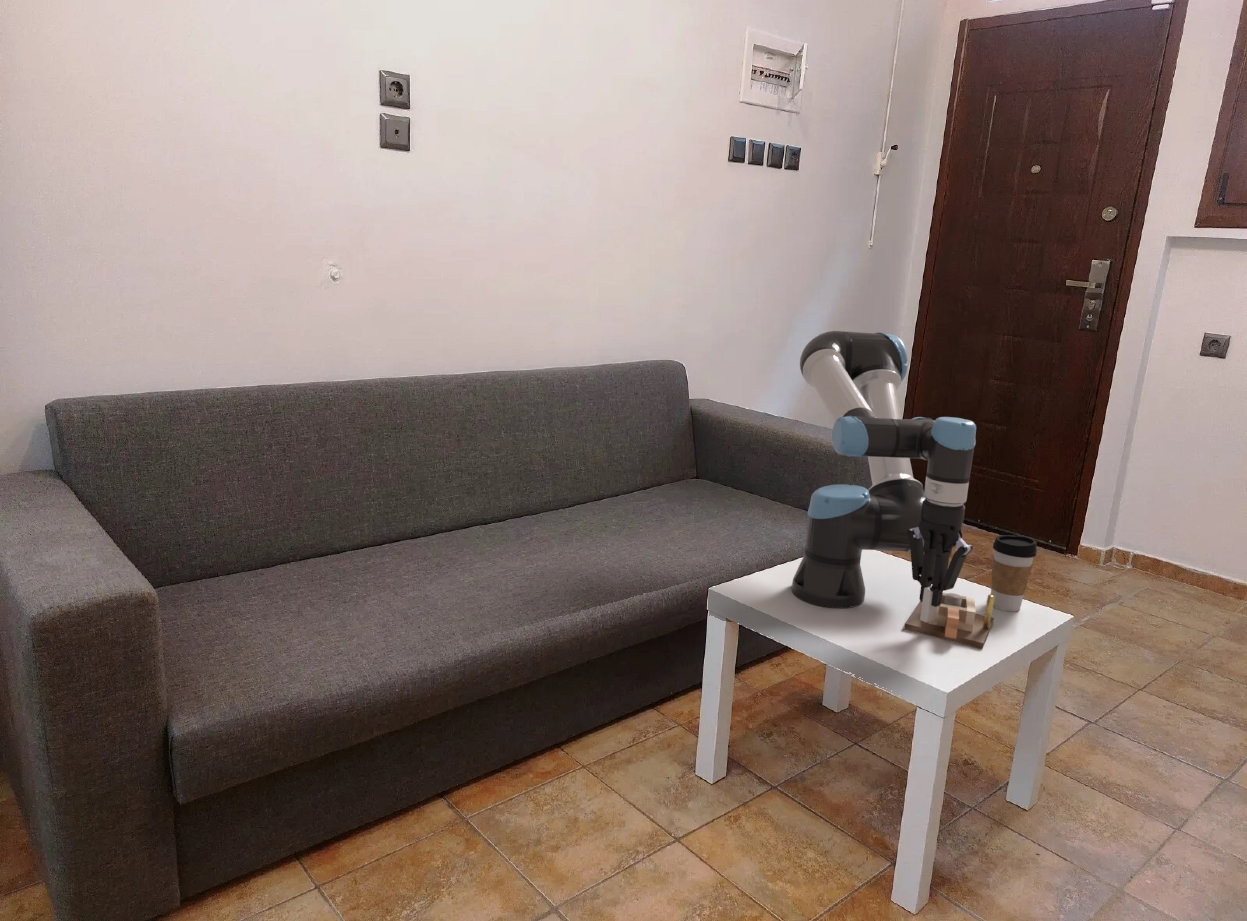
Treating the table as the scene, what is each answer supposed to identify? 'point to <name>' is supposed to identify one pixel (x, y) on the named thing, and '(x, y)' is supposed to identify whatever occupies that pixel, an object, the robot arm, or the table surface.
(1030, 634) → the table surface
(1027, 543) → the coffee cup
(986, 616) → the dowel
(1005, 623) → the table surface
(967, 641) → the base
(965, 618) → the hollow square frame
